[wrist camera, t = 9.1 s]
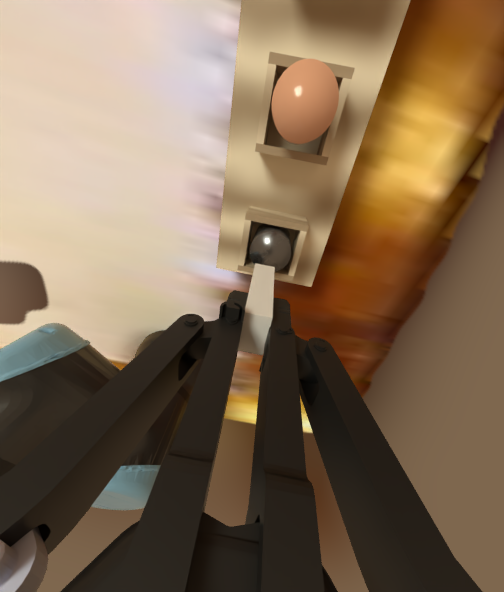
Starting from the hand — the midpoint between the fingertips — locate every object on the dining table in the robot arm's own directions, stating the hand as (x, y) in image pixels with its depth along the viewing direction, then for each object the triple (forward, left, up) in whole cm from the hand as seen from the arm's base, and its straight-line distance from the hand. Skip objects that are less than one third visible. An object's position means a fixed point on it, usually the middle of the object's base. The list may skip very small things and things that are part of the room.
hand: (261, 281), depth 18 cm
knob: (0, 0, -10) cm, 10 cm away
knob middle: (+10, +5, -7) cm, 13 cm away
